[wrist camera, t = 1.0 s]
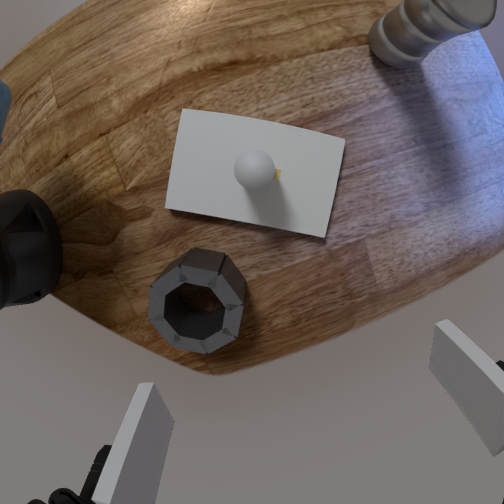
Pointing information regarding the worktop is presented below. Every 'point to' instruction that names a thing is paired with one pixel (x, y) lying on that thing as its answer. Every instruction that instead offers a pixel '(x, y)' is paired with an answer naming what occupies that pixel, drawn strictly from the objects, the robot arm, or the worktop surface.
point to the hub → (193, 320)
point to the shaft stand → (254, 171)
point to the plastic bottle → (425, 28)
